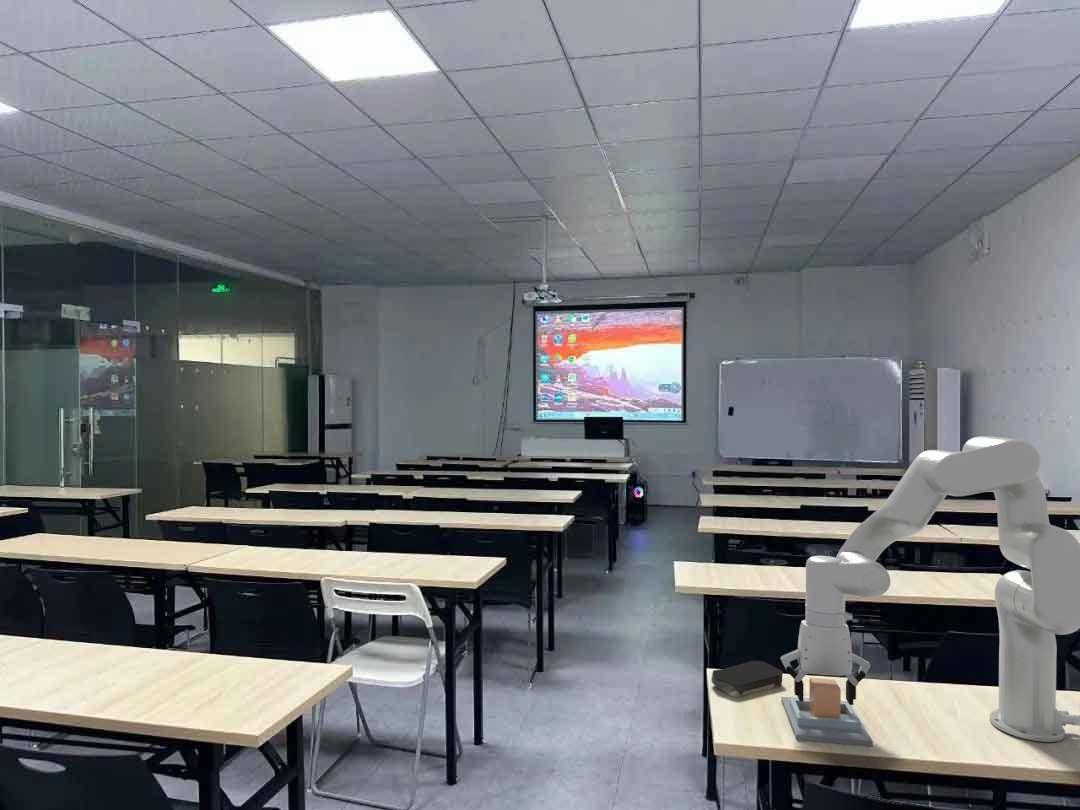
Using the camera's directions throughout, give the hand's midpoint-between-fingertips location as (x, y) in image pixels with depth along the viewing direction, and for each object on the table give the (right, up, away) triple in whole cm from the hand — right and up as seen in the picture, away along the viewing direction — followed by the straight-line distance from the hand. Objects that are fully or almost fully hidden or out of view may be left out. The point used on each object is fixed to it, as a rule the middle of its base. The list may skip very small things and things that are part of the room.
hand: (824, 700), depth 145 cm
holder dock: (0, -4, 0) cm, 4 cm away
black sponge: (-10, -5, +19) cm, 22 cm away
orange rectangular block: (0, -3, 0) cm, 3 cm away
